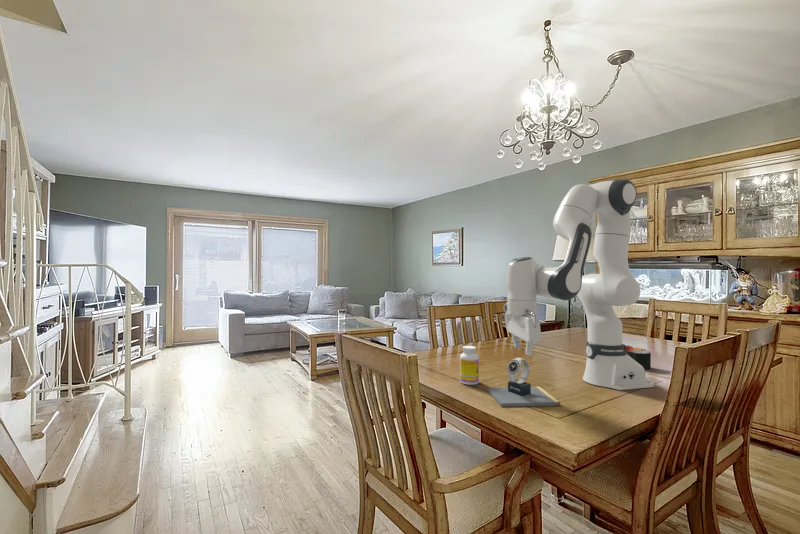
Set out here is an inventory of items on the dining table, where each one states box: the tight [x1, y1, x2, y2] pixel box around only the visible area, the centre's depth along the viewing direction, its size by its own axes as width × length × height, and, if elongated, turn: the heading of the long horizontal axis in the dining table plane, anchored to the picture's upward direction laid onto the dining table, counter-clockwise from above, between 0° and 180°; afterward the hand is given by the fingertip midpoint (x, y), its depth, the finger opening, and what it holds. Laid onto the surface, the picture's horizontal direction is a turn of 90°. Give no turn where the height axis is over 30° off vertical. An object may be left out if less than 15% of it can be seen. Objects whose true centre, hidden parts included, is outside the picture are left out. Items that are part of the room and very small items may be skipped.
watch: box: [506, 357, 532, 396], centre depth 121 cm, size 6×8×11 cm
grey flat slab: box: [487, 386, 561, 408], centre depth 119 cm, size 18×14×1 cm
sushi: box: [626, 346, 652, 371], centre depth 153 cm, size 8×8×8 cm
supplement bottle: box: [459, 345, 480, 386], centre depth 134 cm, size 7×7×13 cm
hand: (522, 351), depth 119 cm, fingers open, 8 cm apart
